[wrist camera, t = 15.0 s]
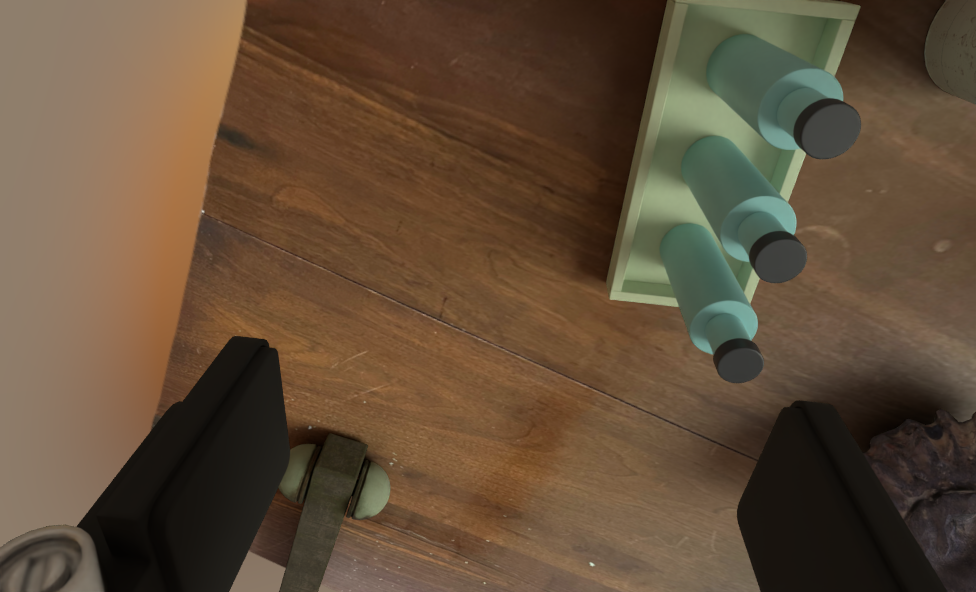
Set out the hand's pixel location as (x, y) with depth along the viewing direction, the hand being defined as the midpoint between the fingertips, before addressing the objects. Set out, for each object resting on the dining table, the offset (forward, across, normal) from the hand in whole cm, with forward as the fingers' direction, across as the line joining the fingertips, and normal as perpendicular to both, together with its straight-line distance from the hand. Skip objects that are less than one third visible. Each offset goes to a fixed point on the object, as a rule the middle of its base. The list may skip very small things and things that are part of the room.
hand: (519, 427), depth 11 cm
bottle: (+34, -13, +12) cm, 38 cm away
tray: (+34, -13, +5) cm, 37 cm away
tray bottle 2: (+34, -13, +5) cm, 36 cm away
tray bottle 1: (+34, -13, -2) cm, 36 cm away
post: (+32, +14, +52) cm, 63 cm away
